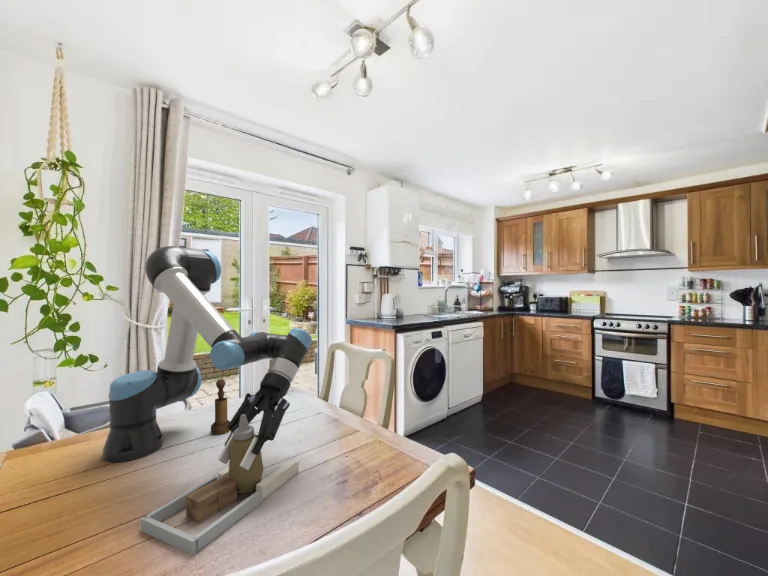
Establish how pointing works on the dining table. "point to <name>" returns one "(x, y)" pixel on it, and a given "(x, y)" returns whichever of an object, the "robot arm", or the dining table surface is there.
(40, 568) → the dining table surface
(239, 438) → the squeeze bottle
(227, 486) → the brown cubic block
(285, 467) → the slot rails
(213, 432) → the wooden pepper mill
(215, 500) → the brown cube block
